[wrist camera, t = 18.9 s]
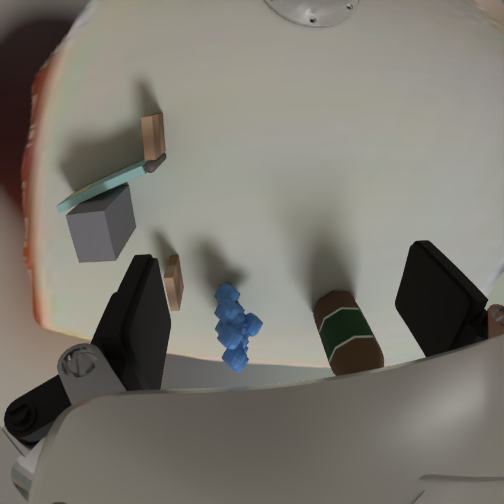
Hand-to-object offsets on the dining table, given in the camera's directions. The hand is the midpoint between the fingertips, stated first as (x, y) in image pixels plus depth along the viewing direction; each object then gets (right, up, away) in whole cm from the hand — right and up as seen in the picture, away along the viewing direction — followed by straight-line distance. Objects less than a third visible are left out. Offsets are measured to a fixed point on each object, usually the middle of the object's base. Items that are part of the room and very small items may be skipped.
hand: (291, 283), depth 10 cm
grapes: (-4, -6, +36) cm, 37 cm away
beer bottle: (+12, -8, +38) cm, 41 cm away
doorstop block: (-20, +7, +27) cm, 34 cm away
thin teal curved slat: (-20, +11, +25) cm, 33 cm away
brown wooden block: (-12, +6, +28) cm, 31 cm away
